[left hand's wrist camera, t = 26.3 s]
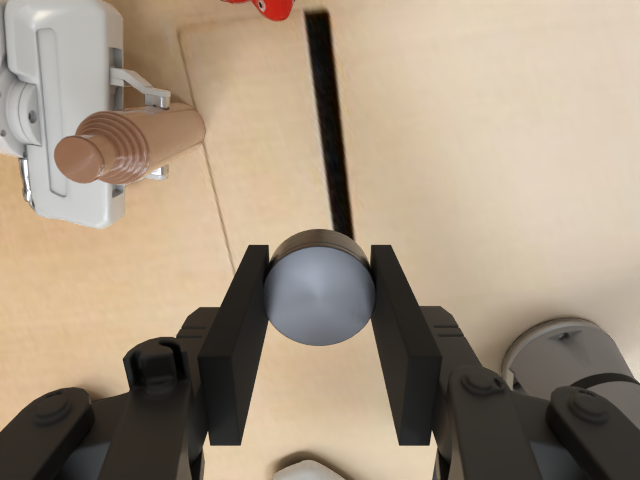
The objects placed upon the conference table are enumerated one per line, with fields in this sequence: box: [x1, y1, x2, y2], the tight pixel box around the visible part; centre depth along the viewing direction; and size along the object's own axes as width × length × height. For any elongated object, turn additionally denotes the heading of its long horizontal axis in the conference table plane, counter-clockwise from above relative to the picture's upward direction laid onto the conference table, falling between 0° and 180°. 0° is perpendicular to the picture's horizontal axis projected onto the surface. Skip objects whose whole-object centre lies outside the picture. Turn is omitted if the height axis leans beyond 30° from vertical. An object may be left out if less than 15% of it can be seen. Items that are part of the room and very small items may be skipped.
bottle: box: [54, 102, 205, 185], centre depth 32 cm, size 5×5×19 cm
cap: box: [263, 229, 376, 346], centre depth 14 cm, size 4×4×2 cm
